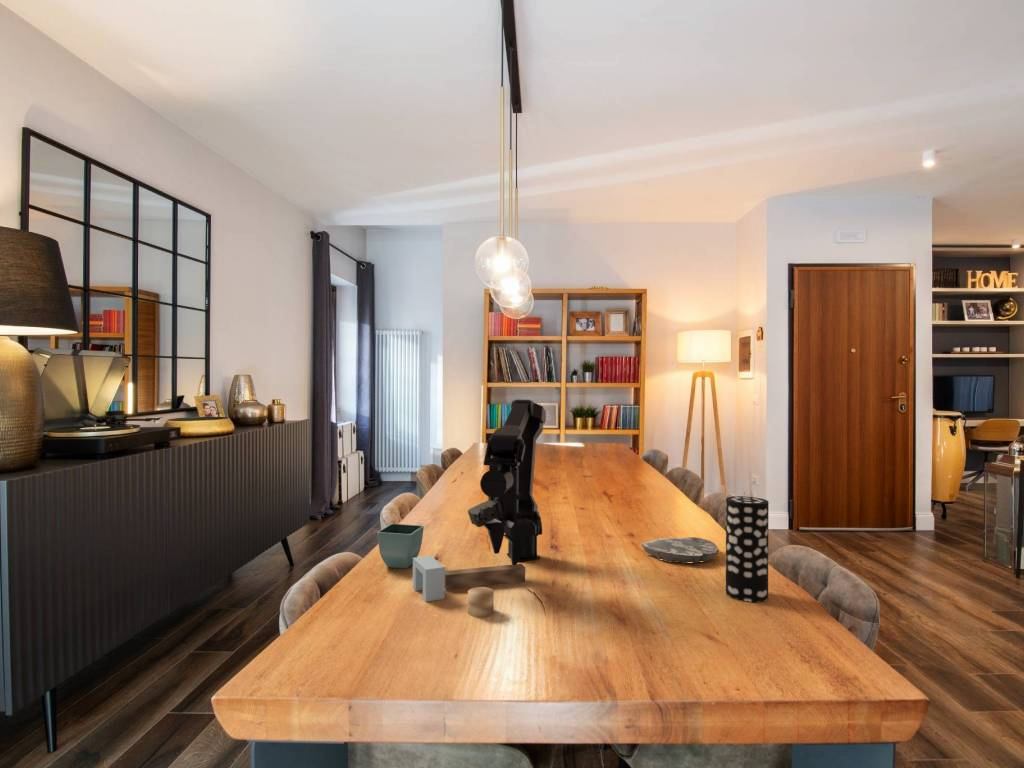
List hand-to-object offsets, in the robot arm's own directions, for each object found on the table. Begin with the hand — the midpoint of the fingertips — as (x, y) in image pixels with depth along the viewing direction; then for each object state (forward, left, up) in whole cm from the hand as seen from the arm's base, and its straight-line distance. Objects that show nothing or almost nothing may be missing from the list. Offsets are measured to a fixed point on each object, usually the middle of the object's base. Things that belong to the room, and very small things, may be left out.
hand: (505, 558), depth 130 cm
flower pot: (+18, -21, -5) cm, 28 cm away
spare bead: (+12, +14, -5) cm, 19 cm away
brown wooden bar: (+5, 0, -5) cm, 7 cm away
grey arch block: (+18, 0, -5) cm, 19 cm away
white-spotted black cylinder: (-42, +30, -5) cm, 52 cm away
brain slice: (-50, +3, -5) cm, 50 cm away
